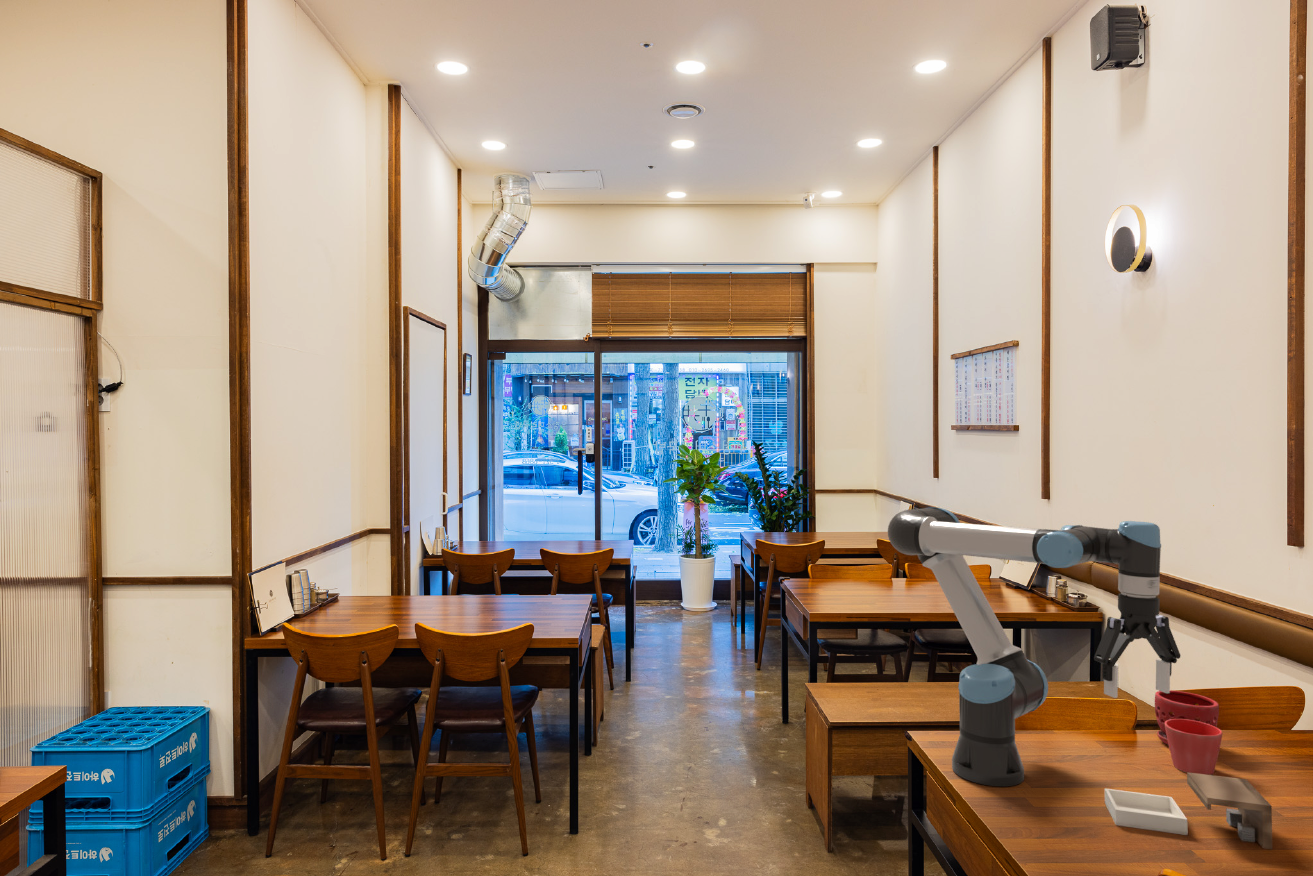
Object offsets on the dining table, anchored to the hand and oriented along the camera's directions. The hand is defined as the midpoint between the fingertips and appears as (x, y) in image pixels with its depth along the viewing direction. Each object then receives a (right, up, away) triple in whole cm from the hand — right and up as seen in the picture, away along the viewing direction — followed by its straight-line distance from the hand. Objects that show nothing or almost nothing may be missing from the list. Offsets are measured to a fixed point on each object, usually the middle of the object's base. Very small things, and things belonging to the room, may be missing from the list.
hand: (1136, 693), depth 162 cm
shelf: (+8, -21, -15) cm, 27 cm away
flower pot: (+21, -22, +13) cm, 33 cm away
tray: (-5, -22, -10) cm, 24 cm away
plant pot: (+30, -22, +27) cm, 46 cm away
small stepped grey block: (+10, -21, -16) cm, 28 cm away
